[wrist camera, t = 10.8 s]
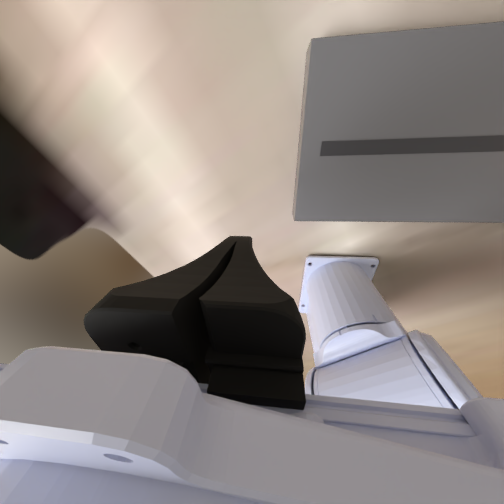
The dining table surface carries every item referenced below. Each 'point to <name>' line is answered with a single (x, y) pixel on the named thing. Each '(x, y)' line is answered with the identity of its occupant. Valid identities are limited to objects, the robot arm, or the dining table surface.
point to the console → (403, 127)
